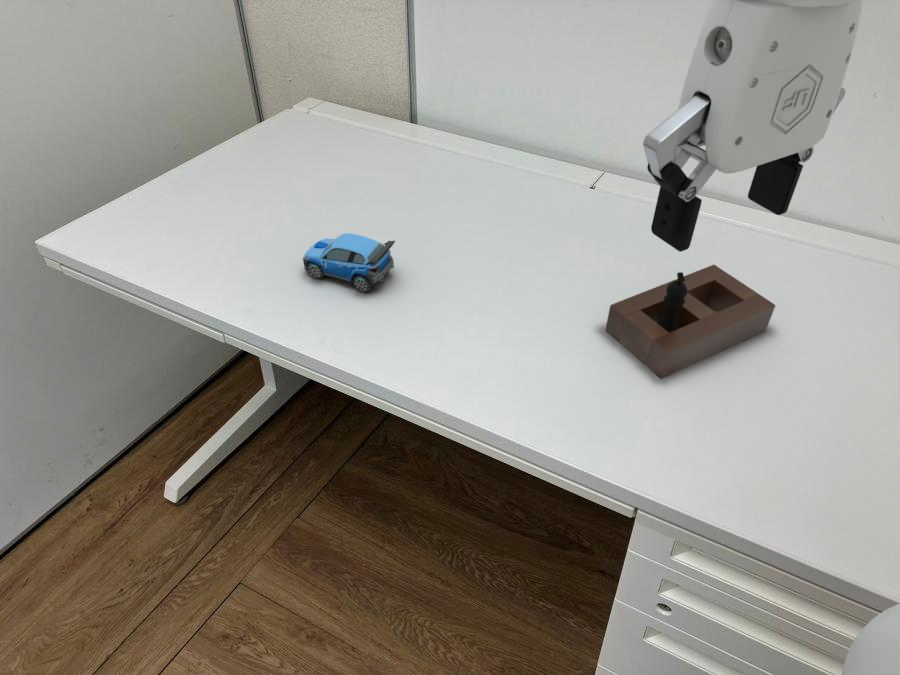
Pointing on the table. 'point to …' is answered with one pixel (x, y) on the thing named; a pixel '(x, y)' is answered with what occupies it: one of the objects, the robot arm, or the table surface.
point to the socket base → (689, 321)
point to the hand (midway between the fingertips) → (719, 223)
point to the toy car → (350, 260)
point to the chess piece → (673, 303)
